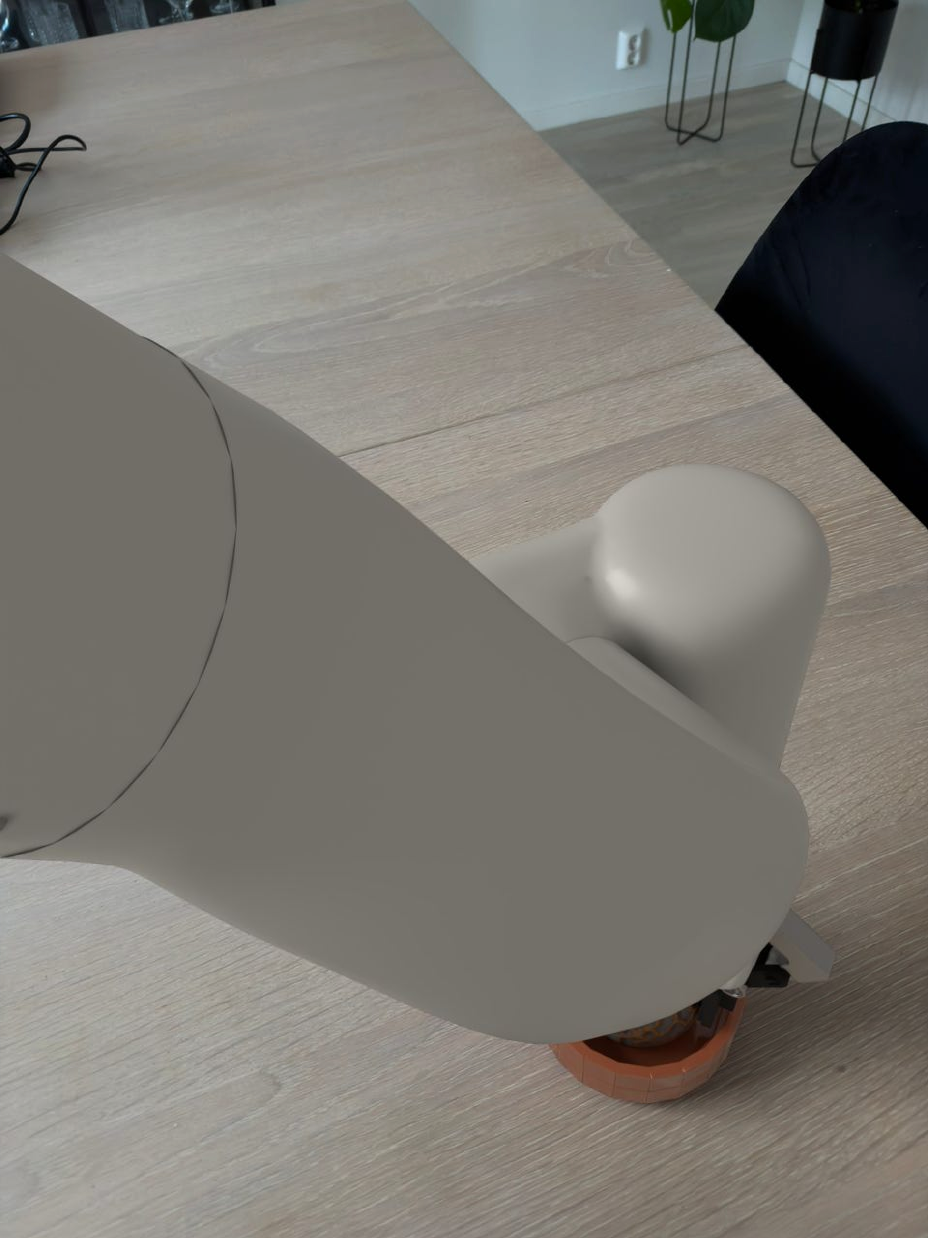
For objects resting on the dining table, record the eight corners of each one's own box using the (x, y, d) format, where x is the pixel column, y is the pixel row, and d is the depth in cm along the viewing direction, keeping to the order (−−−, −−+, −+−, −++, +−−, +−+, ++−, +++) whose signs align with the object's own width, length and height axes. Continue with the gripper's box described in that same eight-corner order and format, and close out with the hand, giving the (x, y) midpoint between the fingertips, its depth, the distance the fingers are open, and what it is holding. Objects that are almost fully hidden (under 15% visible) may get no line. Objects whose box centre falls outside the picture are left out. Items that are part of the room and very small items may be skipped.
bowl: (695, 1144, 53) (705, 1117, 50) (503, 1049, 57) (501, 1018, 54) (760, 961, 59) (772, 927, 56) (583, 885, 63) (585, 850, 60)
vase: (610, 1090, 54) (619, 1020, 48) (546, 970, 59) (547, 891, 52) (728, 1031, 56) (753, 955, 50) (658, 918, 60) (672, 835, 54)
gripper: (424, 755, 42) (452, 958, 55) (883, 941, 36) (791, 1119, 49) (509, 623, 46) (516, 840, 60) (931, 769, 40) (835, 975, 54)
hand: (641, 965), depth 54 cm, fingers closed on vase, 6 cm apart
